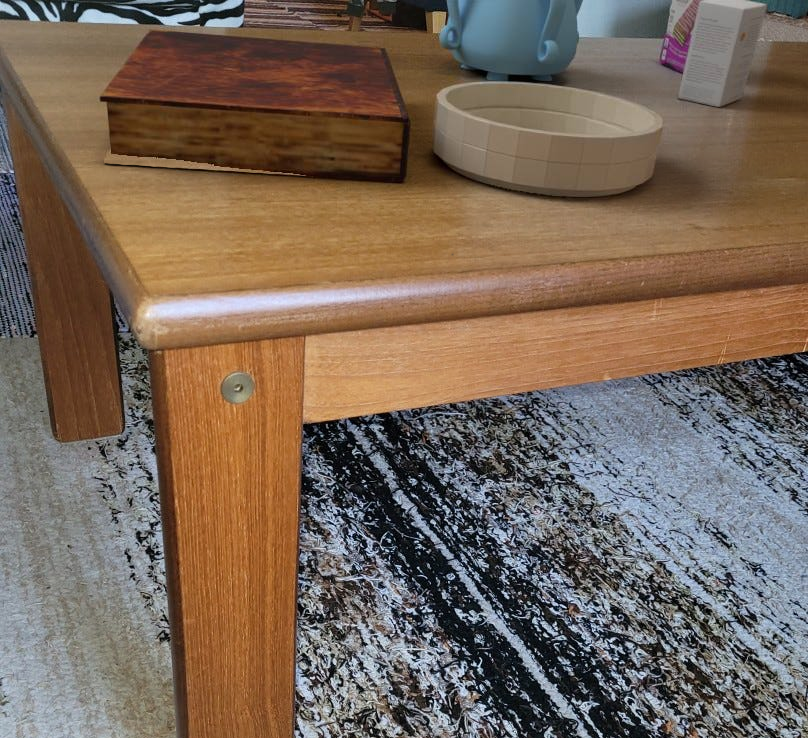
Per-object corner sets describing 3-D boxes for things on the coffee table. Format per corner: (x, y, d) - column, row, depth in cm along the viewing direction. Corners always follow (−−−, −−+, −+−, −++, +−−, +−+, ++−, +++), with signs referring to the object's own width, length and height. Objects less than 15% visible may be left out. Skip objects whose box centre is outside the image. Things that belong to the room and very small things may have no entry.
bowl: (652, 155, 95) (664, 100, 92) (647, 214, 79) (661, 149, 76) (453, 126, 97) (459, 72, 95) (410, 178, 82) (415, 114, 79)
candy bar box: (655, 63, 137) (684, -75, 128) (687, 64, 139) (718, -72, 129) (696, 81, 129) (731, -66, 119) (729, 82, 130) (766, -63, 121)
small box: (700, 90, 124) (723, -5, 118) (743, 99, 121) (768, 3, 115) (675, 98, 118) (698, -1, 112) (719, 108, 116) (745, 7, 110)
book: (406, 183, 81) (411, 118, 78) (104, 164, 78) (97, 96, 75) (383, 99, 104) (386, 48, 102) (151, 83, 102) (148, 29, 99)
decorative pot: (588, 75, 126) (610, -48, 118) (547, 94, 114) (569, -42, 106) (471, 54, 131) (485, -65, 123) (420, 70, 119) (431, -61, 111)
